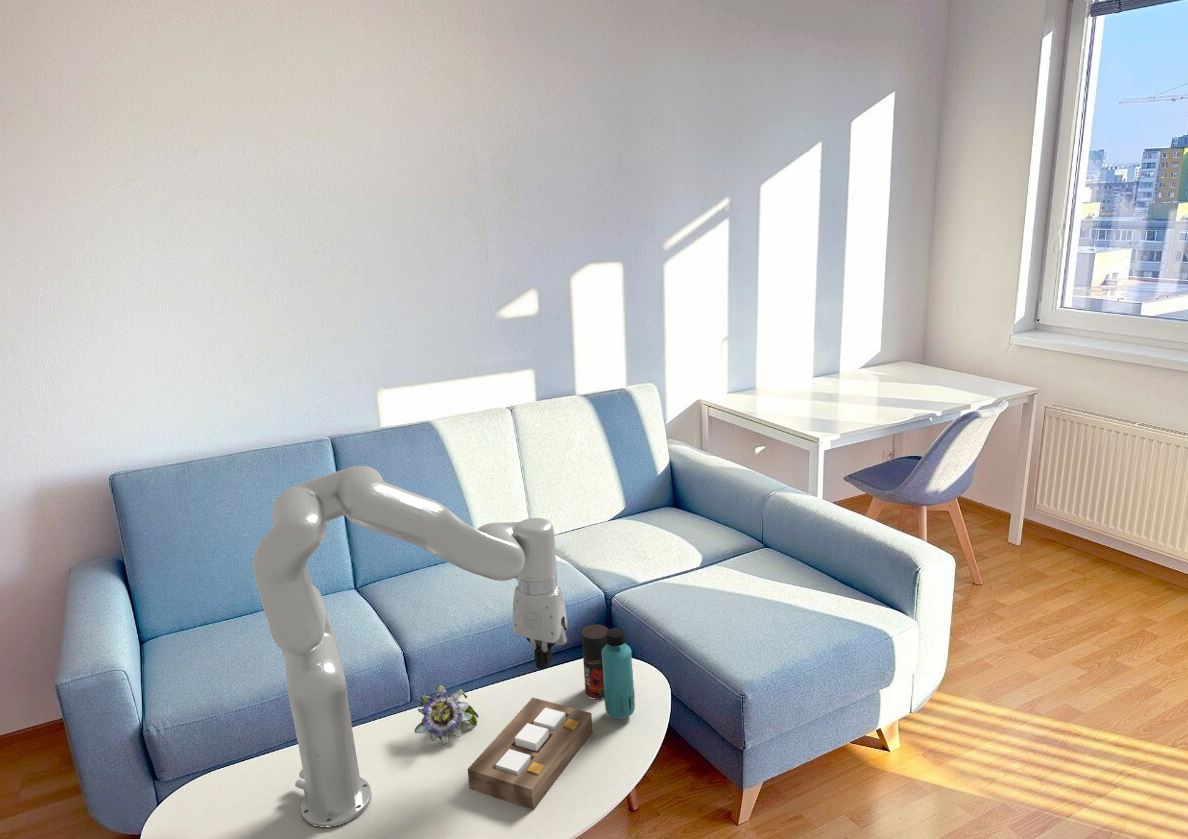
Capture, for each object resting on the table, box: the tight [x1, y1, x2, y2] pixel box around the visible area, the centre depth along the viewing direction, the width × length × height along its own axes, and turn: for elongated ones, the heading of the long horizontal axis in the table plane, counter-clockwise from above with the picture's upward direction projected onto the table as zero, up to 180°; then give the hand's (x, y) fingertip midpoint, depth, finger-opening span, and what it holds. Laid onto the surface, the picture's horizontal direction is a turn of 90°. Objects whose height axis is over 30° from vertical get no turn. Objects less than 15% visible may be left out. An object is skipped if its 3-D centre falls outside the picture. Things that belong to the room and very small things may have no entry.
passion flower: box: [414, 684, 479, 746], centre depth 174 cm, size 11×11×12 cm
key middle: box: [515, 723, 549, 752], centre depth 163 cm, size 5×5×2 cm
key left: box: [496, 749, 531, 777], centre depth 158 cm, size 5×5×2 cm
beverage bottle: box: [601, 627, 636, 719], centre depth 174 cm, size 6×7×20 cm
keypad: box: [467, 697, 594, 811], centre depth 164 cm, size 14×24×5 cm, turn 153°
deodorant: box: [581, 624, 609, 700], centre depth 183 cm, size 6×6×15 cm
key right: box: [533, 708, 566, 731], centre depth 170 cm, size 5×5×2 cm
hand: (543, 665), depth 166 cm, fingers closed
